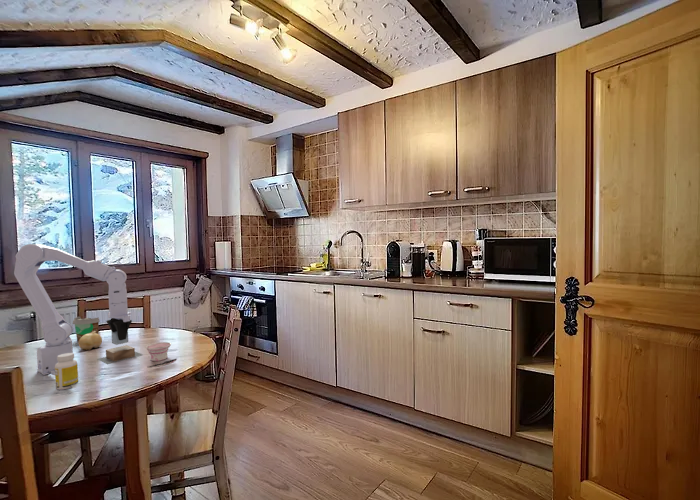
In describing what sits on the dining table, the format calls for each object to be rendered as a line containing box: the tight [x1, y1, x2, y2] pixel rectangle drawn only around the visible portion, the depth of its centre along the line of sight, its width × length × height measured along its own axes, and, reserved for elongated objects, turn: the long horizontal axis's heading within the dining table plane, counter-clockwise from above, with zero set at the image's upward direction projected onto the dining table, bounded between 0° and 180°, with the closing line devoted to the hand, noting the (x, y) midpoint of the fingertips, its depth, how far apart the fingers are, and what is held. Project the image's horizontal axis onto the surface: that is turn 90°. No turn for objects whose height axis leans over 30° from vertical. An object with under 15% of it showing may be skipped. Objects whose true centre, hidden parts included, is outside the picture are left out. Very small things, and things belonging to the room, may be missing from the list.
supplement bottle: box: [54, 352, 79, 391], centre depth 109 cm, size 5×5×10 cm
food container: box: [72, 316, 101, 342], centre depth 162 cm, size 12×6×10 cm, turn 73°
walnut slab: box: [105, 344, 136, 361], centre depth 134 cm, size 7×7×3 cm
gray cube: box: [111, 331, 129, 346], centre depth 134 cm, size 4×4×4 cm
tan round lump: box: [77, 331, 103, 351], centre depth 149 cm, size 8×8×7 cm
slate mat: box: [96, 351, 144, 365], centre depth 134 cm, size 12×10×1 cm
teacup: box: [145, 341, 178, 368], centre depth 130 cm, size 12×12×6 cm
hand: (119, 338), depth 134 cm, fingers closed on gray cube, 4 cm apart
